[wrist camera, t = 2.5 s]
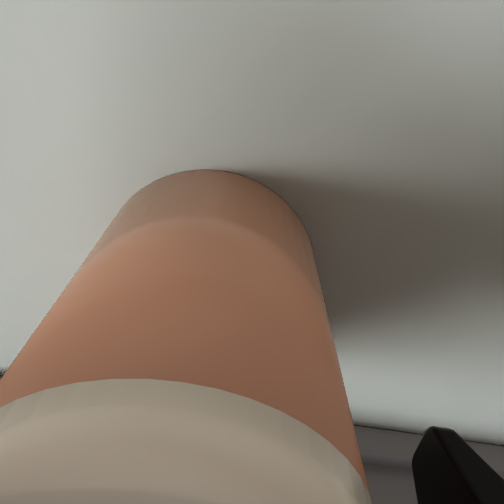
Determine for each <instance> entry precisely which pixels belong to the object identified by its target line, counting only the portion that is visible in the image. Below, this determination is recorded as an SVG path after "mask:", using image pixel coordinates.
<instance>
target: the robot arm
mask: <svg viewBox="0 0 504 504" xmlns="http://www.w3.org/2000/svg"><path fill="white" fill-rule="evenodd" d="M412 472H413V478H414V484H415V490H416V496H417V503H418V504H504V479H503V478H502V477H501V476H500V475H499V474H498V473H497V472H496V471H495V470H494V469H493V468H492V467H491V466H490V465H489V464H488V463H487V462H486V461H485V460H484V459H483V458H481V457H480V456H479V455H478V454H477V453H476V452H475V451H474V450H473V449H472V448H471V447H470V446H469V445H468V444H467V443H466V442H465V441H464V440H463V439H462V438H461V437H460V436H459V435H458V434H457V433H456V432H455V431H453V430H452V429H449V428H442V427H435V426H432V427H429V428H428V429H427V430H426V431H425V433H424V435H423V437H422V439H421V441H420V443H419V445H418V446H417V448H416V450H415V452H414V454H413V458H412Z"/></svg>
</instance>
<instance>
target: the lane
mask: <svg viewBox="0 0 504 504" xmlns="http://www.w3.org/2000/svg"><path fill="white" fill-rule="evenodd" d="M1 378H2V376H0V380H1ZM354 429H355V434H356V438H357V442H358V446H359V451H360V455H361V459H362V463H363V468H364V472H365V476H366V481H367V485H368V489H369V493H370V498H371V502H372V504H418V503H417V496H416V490H415V484H414V478H413V472H412V458H413V454H414V452H415V450H416V448H417V446H418V445H419V443H420V441H421V439H422V437H423V435H418V434H411V433H404V432H397V431H390V430H382V429H375V428H368V427H361V426H354ZM465 442H466V443H467V444H468V445H469V446H470V447H471V448H472V449H473V450H474V451H475V452H476V453H477V454H478V455H479V456H480V457H481V458H483V459H484V460H485V461H486V462H487V463H488V464H489V465H490V466H491V467H492V468H493V469H494V470H495V471H496V472H497V473H498V474H499V475H500V476H501V477H502V478H503V479H504V446H497V445H490V444H483V443H476V442H469V441H465Z"/></svg>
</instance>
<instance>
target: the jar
mask: <svg viewBox="0 0 504 504" xmlns="http://www.w3.org/2000/svg"><path fill="white" fill-rule="evenodd" d="M0 504H372V502H371V498H370V493H369V489H368V485H367V481H366V476H365V472H364V468H363V463H362V459H361V455H360V451H359V446H358V442H357V438H356V434H355V429H354V425H353V421H352V417H351V412H350V408H349V404H348V400H347V395H346V391H345V387H344V383H343V378H342V374H341V370H340V366H339V361H338V357H337V353H336V348H335V344H334V340H333V336H332V331H331V327H330V323H329V319H328V314H327V310H326V306H325V302H324V297H323V293H322V289H321V285H320V280H319V276H318V272H317V268H316V263H315V259H314V255H313V251H312V247H311V243H310V239H309V236H308V234H307V232H306V229H305V227H304V225H303V224H302V222H301V220H300V219H299V217H298V215H297V214H296V213H295V212H294V210H293V209H292V208H291V207H290V206H289V205H288V204H287V203H286V202H285V201H284V200H283V199H282V198H281V197H280V196H279V195H277V194H276V193H275V192H273V191H272V190H270V189H269V188H268V187H266V186H264V185H262V184H260V183H258V182H256V181H255V180H252V179H249V178H247V177H244V176H242V175H238V174H234V173H230V172H226V171H217V170H192V171H184V172H179V173H175V174H172V175H168V176H165V177H163V178H161V179H158V180H156V181H154V182H152V183H150V184H149V185H147V186H145V187H144V188H142V189H141V190H140V191H138V192H137V193H136V194H135V195H134V196H132V197H131V198H130V199H129V200H128V202H127V203H126V204H125V205H124V206H123V207H122V208H121V210H120V211H119V213H118V214H117V216H116V217H115V218H114V220H113V221H112V223H111V224H110V225H109V227H108V228H107V230H106V231H105V232H104V234H103V235H102V237H101V238H100V240H99V241H98V242H97V244H96V245H95V247H94V248H93V249H92V251H91V252H90V254H89V255H88V257H87V258H86V259H85V261H84V262H83V264H82V265H81V266H80V268H79V269H78V271H77V272H76V274H75V275H74V276H73V278H72V279H71V281H70V282H69V283H68V285H67V286H66V288H65V289H64V291H63V292H62V293H61V295H60V296H59V298H58V299H57V300H56V302H55V303H54V305H53V306H52V307H51V309H50V310H49V312H48V313H47V315H46V316H45V317H44V319H43V320H42V322H41V323H40V324H39V326H38V327H37V329H36V330H35V332H34V333H33V334H32V336H31V337H30V339H29V340H28V341H27V343H26V344H25V346H24V347H23V349H22V350H21V351H20V353H19V354H18V356H17V357H16V358H15V360H14V361H13V363H12V364H11V365H10V367H9V368H8V370H7V371H6V373H5V374H4V375H3V377H2V378H1V380H0Z"/></svg>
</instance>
